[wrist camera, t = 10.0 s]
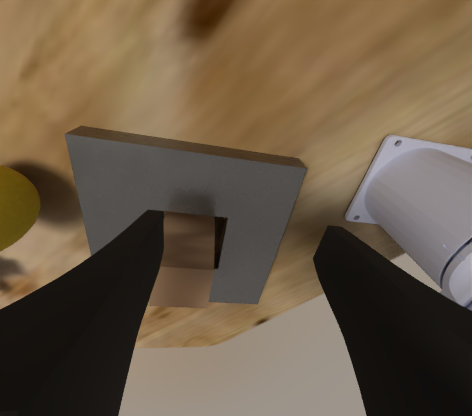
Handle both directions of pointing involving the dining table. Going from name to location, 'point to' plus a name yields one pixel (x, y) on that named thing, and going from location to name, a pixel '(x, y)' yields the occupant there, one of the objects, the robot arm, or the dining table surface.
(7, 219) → the lemon
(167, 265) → the brown rectangular block
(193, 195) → the grey plate with hole
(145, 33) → the dining table surface
